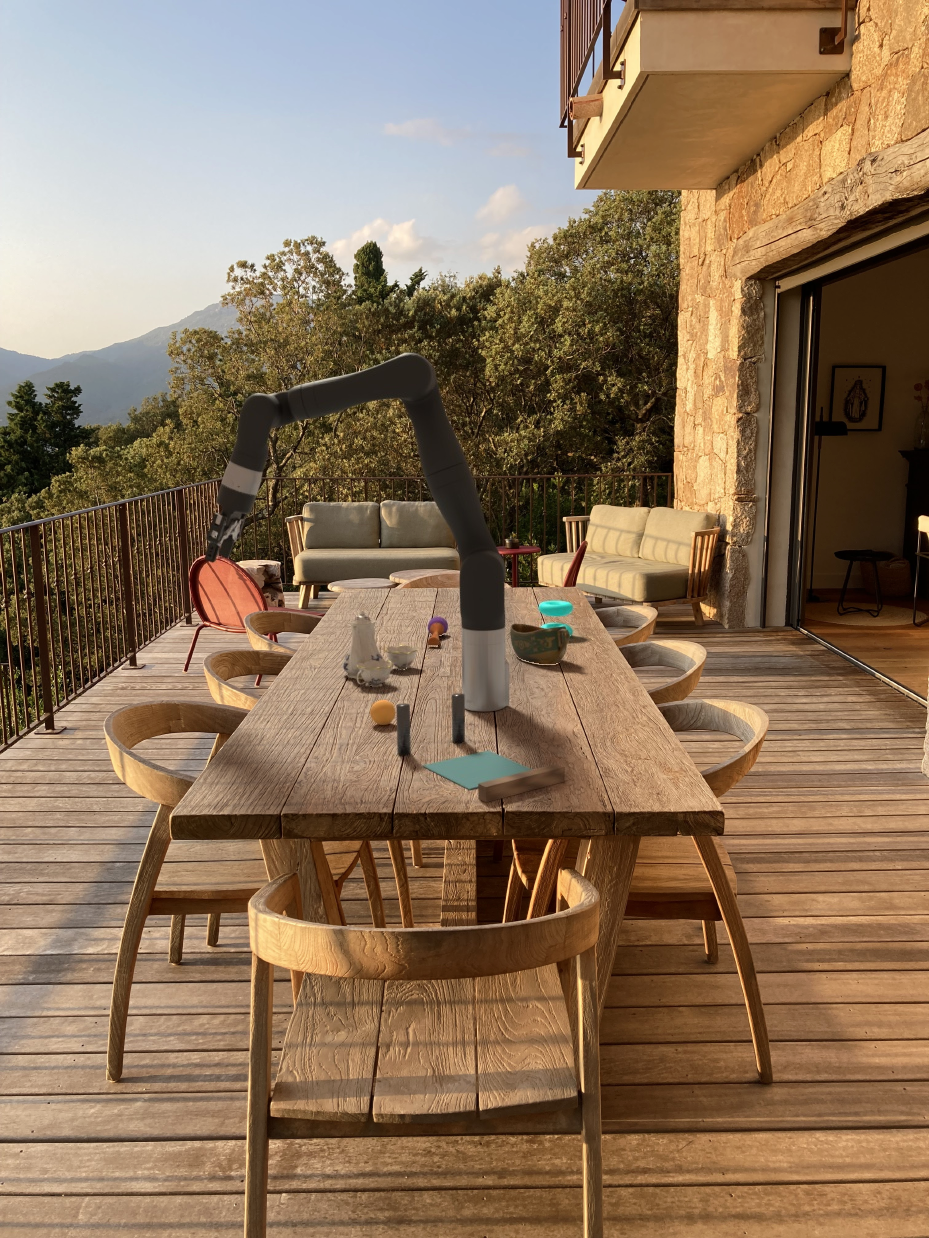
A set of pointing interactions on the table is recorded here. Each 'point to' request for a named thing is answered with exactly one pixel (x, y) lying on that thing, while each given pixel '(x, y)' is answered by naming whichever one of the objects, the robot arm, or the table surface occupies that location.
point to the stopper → (521, 782)
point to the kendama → (436, 629)
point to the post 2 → (458, 718)
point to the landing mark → (476, 768)
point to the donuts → (556, 612)
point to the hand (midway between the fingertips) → (216, 558)
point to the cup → (539, 643)
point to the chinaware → (373, 654)
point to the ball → (382, 712)
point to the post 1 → (403, 729)
